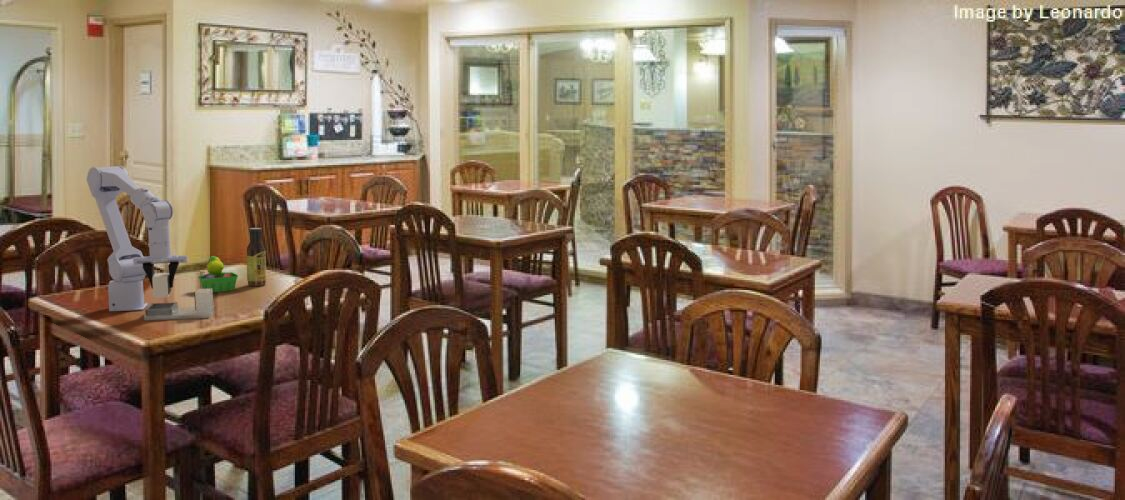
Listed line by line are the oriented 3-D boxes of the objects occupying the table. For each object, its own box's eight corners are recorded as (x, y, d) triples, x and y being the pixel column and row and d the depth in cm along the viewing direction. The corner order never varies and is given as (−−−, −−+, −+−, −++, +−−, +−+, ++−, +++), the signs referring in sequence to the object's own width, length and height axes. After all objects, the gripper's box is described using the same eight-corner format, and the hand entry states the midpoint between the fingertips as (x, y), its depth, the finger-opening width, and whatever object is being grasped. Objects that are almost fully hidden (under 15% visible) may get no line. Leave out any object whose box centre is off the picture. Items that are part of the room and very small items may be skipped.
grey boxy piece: (144, 320, 264) (142, 296, 263) (151, 312, 274) (149, 289, 273) (209, 317, 268) (208, 294, 267) (214, 310, 278) (213, 287, 277)
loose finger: (153, 297, 266) (152, 277, 265) (156, 293, 272) (154, 273, 271) (169, 296, 267) (168, 276, 266) (171, 292, 273) (170, 272, 272)
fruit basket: (204, 294, 300) (202, 260, 298) (197, 289, 307) (195, 256, 306) (239, 290, 307) (237, 257, 305) (231, 286, 314) (230, 253, 312)
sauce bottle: (260, 287, 312) (258, 230, 309) (243, 286, 313) (241, 229, 310) (270, 283, 318) (268, 227, 315) (253, 282, 319) (251, 226, 316)
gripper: (130, 245, 261) (133, 291, 264) (184, 243, 266) (187, 289, 268) (134, 241, 268) (137, 286, 270) (187, 239, 272) (189, 284, 274)
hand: (162, 287), depth 270 cm, fingers closed on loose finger, 4 cm apart
